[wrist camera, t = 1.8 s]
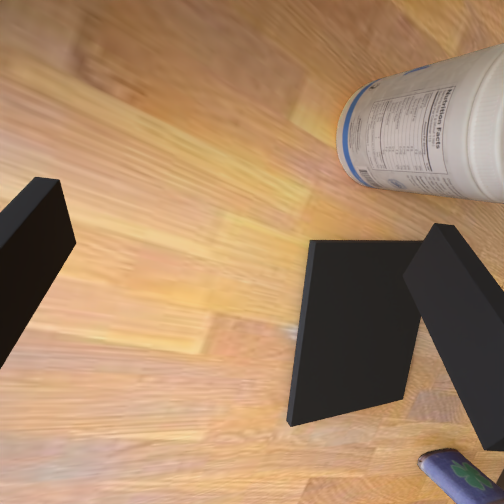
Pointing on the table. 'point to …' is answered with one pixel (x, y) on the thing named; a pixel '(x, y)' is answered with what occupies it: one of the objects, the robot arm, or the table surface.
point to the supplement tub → (430, 129)
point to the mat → (353, 328)
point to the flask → (460, 478)
